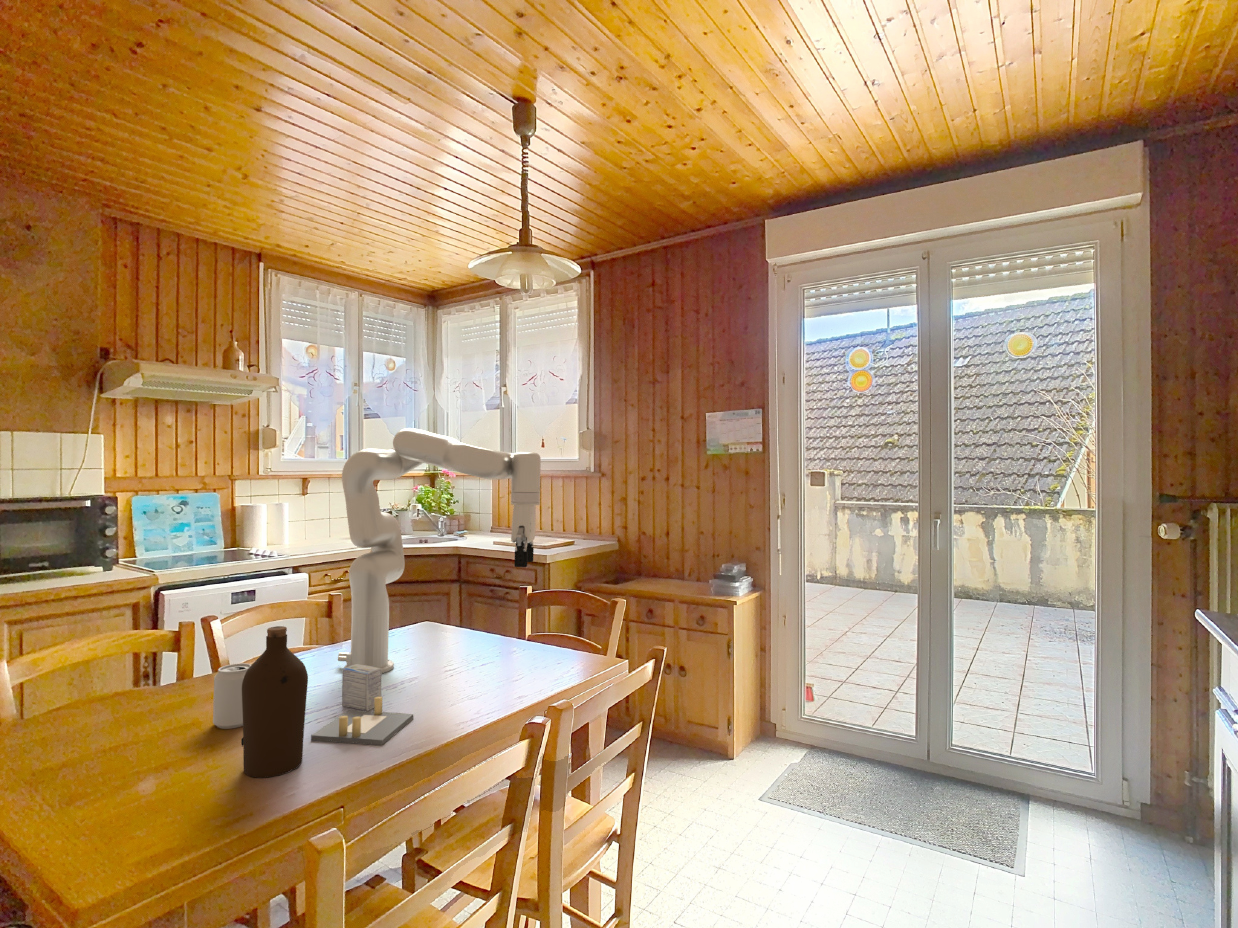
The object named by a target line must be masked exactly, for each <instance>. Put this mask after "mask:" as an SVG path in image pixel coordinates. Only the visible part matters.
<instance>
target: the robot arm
mask: <svg viewBox="0 0 1238 928" xmlns="http://www.w3.org/2000/svg"><path fill="white" fill-rule="evenodd" d="M541 463H542V461H541V455H540V454H539V453H538V452H531V451H530V452H529V451H527V452H526V451H525V452H524V451H519V452H518V451H517V452H514V453H512V452H509V451H508V452H507V451H501V450H492V449H487V448H484V447H480V446H479V447H478V446H474V445H470V444H466V443H463V442H460V441H459V440H458V439H456V438H454V437H451V436H446V435H441V434H439V433H438V434H437V433H435V432H430V431H428V430H424V429H420V428H414V427H412V428H411V427H408V428H407V427H406V428H402V429H401V430H399V431H397V433H395V435H394V437H393V439H392V448H390V449H381V448H366V449H361V450H358V451H356V452H355V453H353V454H352V455H351V456H349V458H348V459H347V460H346V462H345V463H344V464H343V467H342V472H341V483H342V489H343V494H344V498H345V499H344V500H345V507H346V508H345V510H346V515H347V516H346V517H347V524H348V532H349V539H350V540H351V543H352V544H353V545H354V546H355V547H357V548H360V549H369V548H370V550H371V552H368V553H367V552H366V553H364V554H362V555H359V556H358V557H356V558H355V559H354V560H353V561H352V563H351V564H350V567H349V569H348V570H349V571H348V581H349V585H350V594H351V630H350V634H351V635H350V652H347V651H346V652H345V651H344V652H343V651H340V652H339V653H338V657H337V661H338V662H345V663H346V664H345V666H344V667H343V669H344V668H346V667H349V666H352V665H355V664H360V665H366V666H372V667H377V668H381V674H384V673H388V672H389V671H391V670H393V669H394V666H395V663H394V661H392V660H390V659H389V635H390V634H389V629H390V628H389V627H390V625H389V623H390V599H389V593H388V591H387V586H386V585H387V584H390V583H393V582H396V581H397V580H398V579H400V578H401V577H402V575H403V574H404V571H405V566H406V565H405V564H406V563H405V554H404V546H403V538H402V531H401V526H400V523H399V521H398V520H397V519H396V517H395V516H394V515H392V513H389V512H385V511H382V510H381V506H380V499H379V498H380V497H379V494H378V492H377V489H376V487H375V485H374V481H379V480H380V481H381V480H382V481H388V480H390V481H391V480H396V479H399V478H401V477H402V476H404V475H406V474H408V473H409V472H411V471H412V470H414V469H416V468H418V467H419V466H421V465H422V464H427V465H430V466H434V467H438V468H442V469H445V470H448V471H453V472H457V473H460V474H465V475H468V476H473V477H476V478H479V479H484V480H508V479H511V486H510V487H511V488H510V490H511V491H510V492H511V493H510V505H512V506H513V509H512V518H511V519H512V521H511V538H510V540H511V543H513V544H515V547H514V561H513V562H514V564H513V565H514V567H515V568H527V567H528V563H532V562H534V549H535V548H534V540H535V537H536V526H537V525H536V524H537V522H536V520H537V519H536V516H537V515H536V509H537V507H536V506H540V504H541V503H540V502H541Z"/></svg>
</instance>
